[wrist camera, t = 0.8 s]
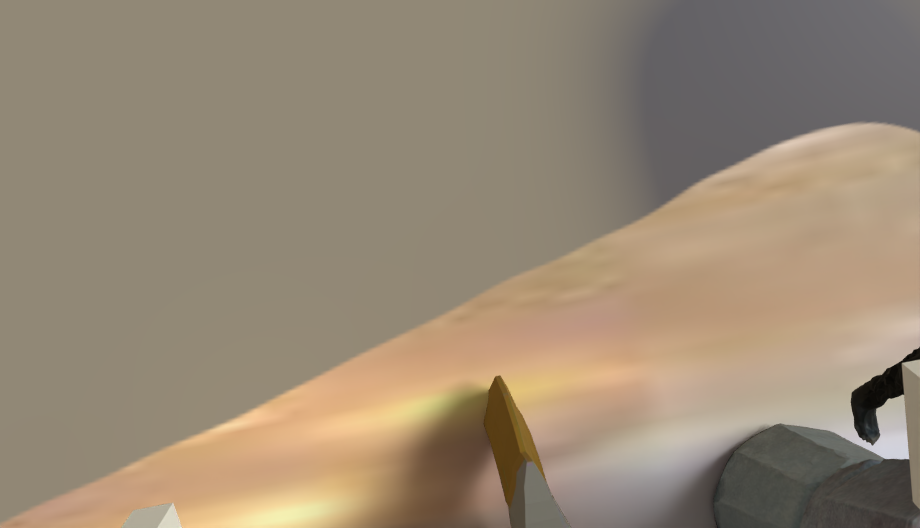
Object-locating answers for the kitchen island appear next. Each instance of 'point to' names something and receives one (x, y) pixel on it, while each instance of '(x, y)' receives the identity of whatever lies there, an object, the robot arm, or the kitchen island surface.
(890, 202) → the kitchen island surface
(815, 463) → the moka pot
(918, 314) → the kitchen island surface
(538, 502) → the gun
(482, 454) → the kitchen island surface
